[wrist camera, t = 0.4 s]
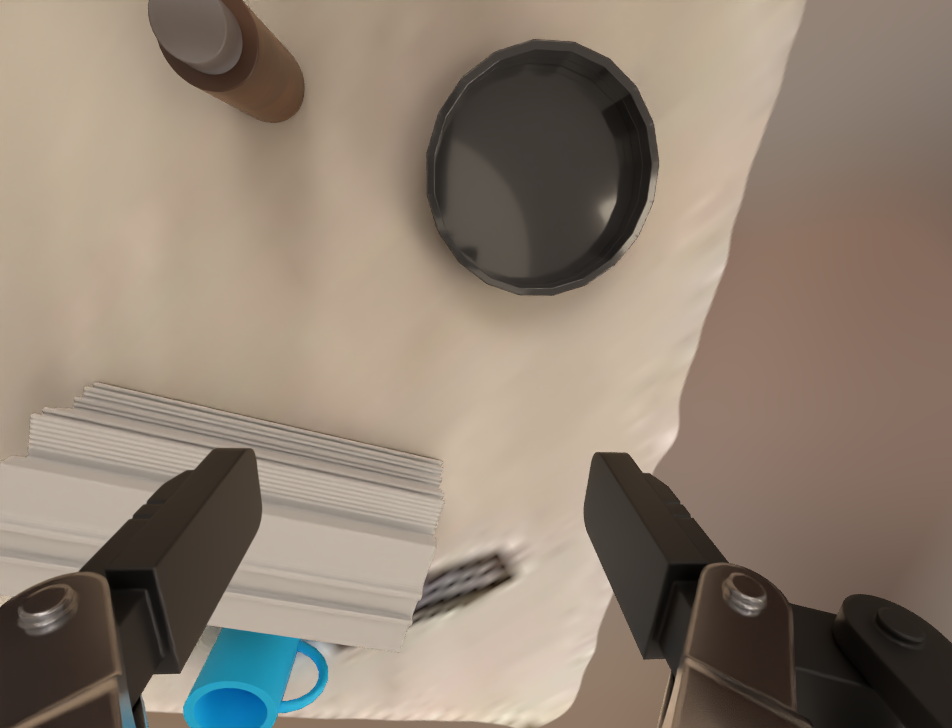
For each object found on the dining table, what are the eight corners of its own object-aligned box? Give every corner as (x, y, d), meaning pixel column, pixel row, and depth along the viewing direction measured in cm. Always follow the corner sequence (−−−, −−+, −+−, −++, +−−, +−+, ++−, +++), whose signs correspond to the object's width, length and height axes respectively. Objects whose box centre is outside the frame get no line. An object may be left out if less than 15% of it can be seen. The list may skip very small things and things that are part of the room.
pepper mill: (223, 37, 31) (117, -52, 20) (301, 42, 31) (235, -42, 21) (234, 121, 32) (142, 79, 22) (308, 124, 33) (250, 84, 23)
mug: (217, 653, 49) (177, 736, 41) (230, 597, 46) (190, 674, 39) (327, 670, 51) (308, 752, 43) (344, 617, 49) (328, 694, 41)
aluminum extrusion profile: (97, 380, 38) (-15, 436, 28) (442, 459, 43) (445, 528, 34) (88, 516, 42) (-13, 605, 32) (405, 572, 47) (398, 662, 38)
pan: (426, 49, 32) (425, 31, 29) (652, 64, 34) (676, 48, 30) (428, 287, 38) (427, 294, 34) (622, 289, 39) (639, 296, 36)
